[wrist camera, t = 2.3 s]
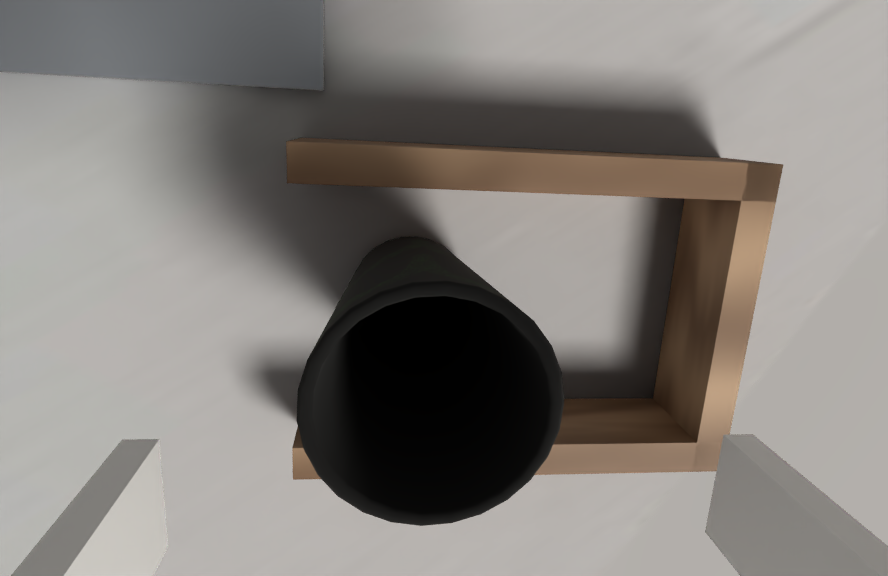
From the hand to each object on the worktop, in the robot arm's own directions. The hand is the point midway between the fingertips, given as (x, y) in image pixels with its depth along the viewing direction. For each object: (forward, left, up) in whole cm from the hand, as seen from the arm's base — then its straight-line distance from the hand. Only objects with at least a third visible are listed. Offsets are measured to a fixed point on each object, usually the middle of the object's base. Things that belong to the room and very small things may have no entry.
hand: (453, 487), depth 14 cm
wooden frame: (0, +5, -15) cm, 16 cm away
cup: (0, 0, -16) cm, 16 cm away
